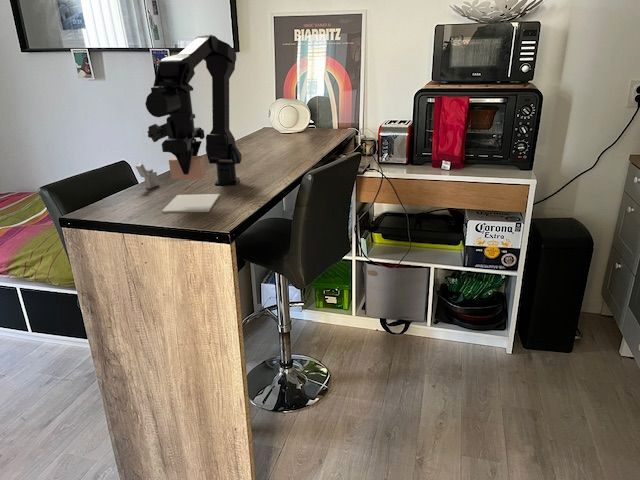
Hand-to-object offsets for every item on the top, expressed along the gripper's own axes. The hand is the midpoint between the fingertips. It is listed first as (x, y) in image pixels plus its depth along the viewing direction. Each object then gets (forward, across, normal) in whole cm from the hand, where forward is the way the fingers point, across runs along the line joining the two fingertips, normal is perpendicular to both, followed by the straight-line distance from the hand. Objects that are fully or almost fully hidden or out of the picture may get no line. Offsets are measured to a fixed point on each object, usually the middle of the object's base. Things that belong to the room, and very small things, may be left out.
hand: (188, 172), depth 132 cm
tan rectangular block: (+1, 0, 0) cm, 1 cm away
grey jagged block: (+9, -17, -18) cm, 26 cm away
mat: (+9, 0, 0) cm, 9 cm away
